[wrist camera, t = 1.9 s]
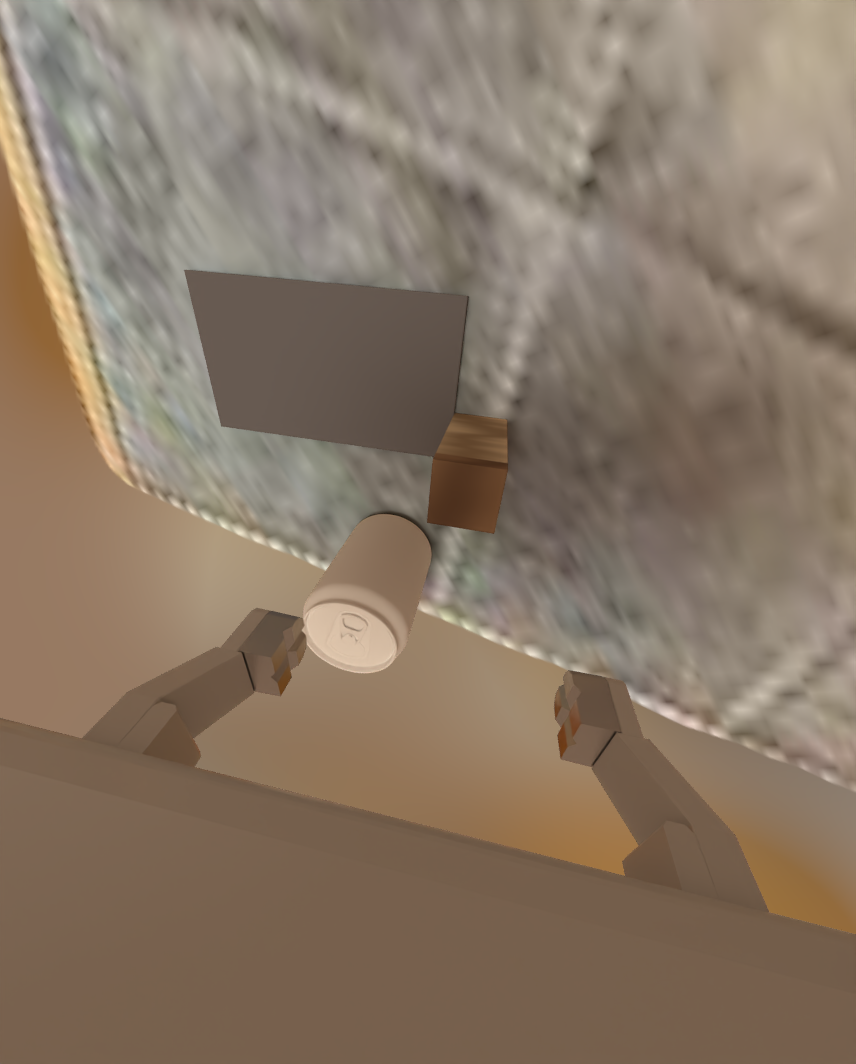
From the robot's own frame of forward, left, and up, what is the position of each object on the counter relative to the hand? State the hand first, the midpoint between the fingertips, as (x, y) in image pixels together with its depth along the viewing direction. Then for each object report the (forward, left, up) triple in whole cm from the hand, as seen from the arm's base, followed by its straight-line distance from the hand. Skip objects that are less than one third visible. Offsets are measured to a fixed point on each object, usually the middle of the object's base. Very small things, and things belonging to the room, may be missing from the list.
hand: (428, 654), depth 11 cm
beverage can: (+6, +12, -21) cm, 25 cm away
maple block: (0, 0, -21) cm, 21 cm away
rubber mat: (+12, -4, -21) cm, 24 cm away
